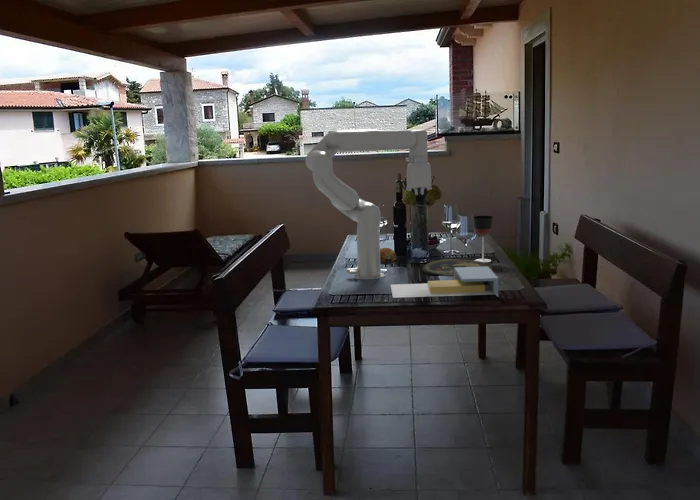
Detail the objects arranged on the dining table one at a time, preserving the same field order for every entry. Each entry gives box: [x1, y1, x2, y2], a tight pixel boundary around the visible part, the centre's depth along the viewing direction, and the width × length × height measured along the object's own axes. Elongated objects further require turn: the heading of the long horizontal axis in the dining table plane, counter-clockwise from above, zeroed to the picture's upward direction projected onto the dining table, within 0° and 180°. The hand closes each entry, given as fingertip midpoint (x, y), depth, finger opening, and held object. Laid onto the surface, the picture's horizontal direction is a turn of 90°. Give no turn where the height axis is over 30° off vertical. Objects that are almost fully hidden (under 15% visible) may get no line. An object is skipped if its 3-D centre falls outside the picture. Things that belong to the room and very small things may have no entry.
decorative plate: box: [422, 258, 494, 277], centre depth 261 cm, size 30×2×30 cm
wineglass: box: [472, 215, 494, 263], centre depth 274 cm, size 8×9×20 cm
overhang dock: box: [390, 266, 499, 299], centre depth 228 cm, size 38×18×7 cm, turn 89°
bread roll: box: [380, 247, 397, 264], centre depth 284 cm, size 10×10×8 cm
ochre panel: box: [427, 279, 485, 293], centre depth 228 cm, size 20×9×2 cm, turn 90°
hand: (419, 204), depth 255 cm, fingers closed
